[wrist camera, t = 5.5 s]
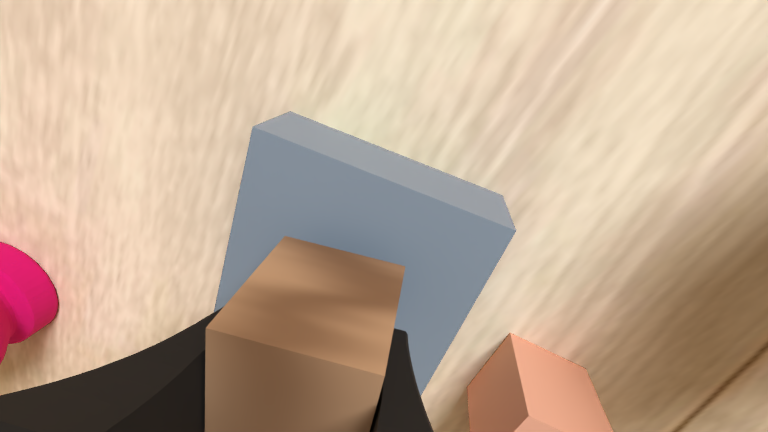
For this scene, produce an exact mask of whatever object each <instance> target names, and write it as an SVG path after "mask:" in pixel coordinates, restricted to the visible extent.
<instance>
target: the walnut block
mask: <svg viewBox="0 0 768 432" xmlns="http://www.w3.org/2000/svg"><path fill="white" fill-rule="evenodd" d="M404 271H405V266H402V265H398V264H394V263H390V262H387V261H383V260H379V259H375V258H371V257H367V256H363V255H359V254H355V253H351V252H347V251H343V250H339V249H335V248H331V247H327V246H323V245H319V244H315V243H311V242H307V241H303V240H300V239H296V238H292V237H288V236H284V237H283V239H282V240H281V241H280V242H279V243H278V244H277V246H276V247H275V248H274V249H273V250H272V251H271V253H270V254H269V255H268V256H267V257H266V258H265V260H264V261H263V262H262V263H261V264H260V265H259V266H258V268H257V269H256V270H255V271H254V272H253V273H252V275H251V276H250V277H249V278H248V279H247V280H246V282H245V283H244V284H243V285H242V286H241V287H240V289H239V290H238V291H237V292H236V293H235V294H234V296H233V297H232V298H231V299H230V300H229V301H228V303H227V304H226V305H225V306H224V307H223V308H222V309H221V311H220V312H219V313H218V314H217V315H216V316H215V318H214V319H213V320H212V321H211V322H210V323H209V325H208V326H207V327H206V344H205V432H370V428H371V425H372V421H373V417H374V414H375V410H376V406H377V403H378V399H379V396H380V392H381V388H382V385H383V381H384V377H385V373H386V367H387V362H388V357H389V351H390V346H391V341H392V335H393V330H394V325H395V319H396V314H397V309H398V303H399V298H400V293H401V287H402V282H403V277H404Z"/></svg>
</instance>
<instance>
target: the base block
mask: <svg viewBox="0 0 768 432" xmlns="http://www.w3.org/2000/svg"><path fill="white" fill-rule="evenodd" d="M515 232H516V229H515V226H514V224H513V221H512V219H511V216H510V213H509V211H508V208H507V206H506V203H505V201H504V198H503V196H502V195H500V194H497V193H495V192H492V191H490V190H487V189H485V188H482V187H480V186H477V185H475V184H472V183H470V182H467V181H465V180H462V179H460V178H457V177H455V176H452V175H450V174H447V173H444V172H442V171H439V170H437V169H434V168H432V167H429V166H427V165H424V164H422V163H419V162H417V161H414V160H412V159H409V158H407V157H404V156H402V155H399V154H397V153H394V152H391V151H389V150H386V149H384V148H381V147H379V146H376V145H374V144H371V143H369V142H366V141H364V140H361V139H359V138H356V137H354V136H351V135H349V134H346V133H344V132H341V131H338V130H336V129H333V128H331V127H328V126H326V125H323V124H321V123H318V122H316V121H313V120H311V119H308V118H306V117H303V116H301V115H298V114H296V113H293V112H291V111H290V112H288V113H285V114H283V115H280V116H278V117H275V118H273V119H270V120H268V121H265V122H263V123H260V124H258V125H255V126H253V128H252V133H251V137H250V142H249V147H248V152H247V156H246V161H245V166H244V171H243V175H242V180H241V185H240V190H239V195H238V199H237V204H236V209H235V214H234V218H233V223H232V228H231V233H230V238H229V242H228V247H227V252H226V257H225V261H224V266H223V271H222V276H221V280H220V285H219V290H218V295H217V300H216V304H215V309H214V312H216V311H217V310H219V309H221V308H222V307H224V306H225V305H226V304H227V303H228V301H229V300H230V299H231V298H232V297H233V296H234V294H235V293H236V292H237V291H238V290H239V289H240V287H241V286H242V285H243V284H244V283H245V282H246V280H247V279H248V278H249V277H250V276H251V275H252V273H253V272H254V271H255V270H256V269H257V268H258V266H259V265H260V264H261V263H262V262H263V261H264V260H265V258H266V257H267V256H268V255H269V254H270V253H271V251H272V250H273V249H274V248H275V247H276V246H277V244H278V243H279V242H280V241H281V240H282V239H283V237H284V236H288V237H292V238H296V239H300V240H303V241H307V242H311V243H315V244H319V245H323V246H327V247H331V248H335V249H339V250H343V251H347V252H351V253H355V254H359V255H363V256H367V257H371V258H375V259H379V260H383V261H387V262H390V263H394V264H398V265H402V266H405V271H404V277H403V282H402V287H401V293H400V298H399V303H398V309H397V314H396V319H395V325H394V328H396V329H400V330H403V331H406V332H407V334H408V344H409V351H410V357H411V362H412V367H413V371H414V375H415V379H416V383H417V386H418V390H419V393H420V396H421V394H422V393H423V391H424V389H425V388H426V386H427V384H428V382H429V381H430V379H431V377H432V375H433V374H434V372H435V370H436V369H437V367H438V365H439V363H440V362H441V360H442V358H443V356H444V355H445V353H446V351H447V350H448V348H449V346H450V344H451V343H452V341H453V339H454V337H455V336H456V334H457V332H458V330H459V329H460V327H461V325H462V324H463V322H464V320H465V318H466V317H467V315H468V313H469V311H470V310H471V308H472V306H473V305H474V303H475V301H476V299H477V298H478V296H479V294H480V292H481V291H482V289H483V287H484V286H485V284H486V282H487V280H488V279H489V277H490V275H491V273H492V272H493V270H494V268H495V266H496V265H497V263H498V261H499V260H500V258H501V256H502V254H503V253H504V251H505V249H506V247H507V246H508V244H509V242H510V241H511V239H512V237H513V235H514V234H515Z"/></svg>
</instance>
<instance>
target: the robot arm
mask: <svg viewBox="0 0 768 432" xmlns="http://www.w3.org/2000/svg"><path fill="white" fill-rule="evenodd" d="M222 308H223V307H222ZM222 308H221V309H222ZM221 309H219V310H217V311H216V312H214V313H212V314H211V315H209V316H207V317H206V318H204V319H202V320H201V321H199V322H197V323H196V324H194V325H192V326H190V327H189V328H187V329H185V330H183V331H181V332H179V333H177V334H176V335H174V336H172V337H170V338H168V339H166V340H164V341H162V342H160V343H158V344H156V345H154V346H152V347H149V348H147V349H145V350H143V351H140V352H138V353H136V354H133V355H131V356H128V357H126V358H123V359H121V360H118V361H115V362H113V363H110V364H107V365H105V366H102V367H100V368H97V369H94V370H91V371H88V372H85V373H82V374H79V375H76V376H72V377H69V378H66V379H62V380H59V381H56V382H52V383H49V384H45V385H41V386H37V387H33V388H29V389H25V390H21V391H17V392H13V393H9V394H5V395H1V396H0V432H205V344H206V327H207V326H208V325H209V323H210V322H211V321H212V320H213V319H214V318H215V316H216V315H217V314H218V313H219V312H220V311H221ZM370 432H433V429H432V427H431V424H430V422H429V419H428V417H427V414H426V411H425V408H424V405H423V402H422V399H421V396H420V393H419V390H418V386H417V383H416V379H415V375H414V371H413V367H412V362H411V357H410V351H409V344H408V334H407V332H406V331H403V330H400V329H396V328H394V330H393V335H392V341H391V346H390V351H389V357H388V362H387V367H386V373H385V377H384V381H383V385H382V388H381V392H380V396H379V399H378V403H377V406H376V410H375V414H374V417H373V421H372V425H371V428H370Z"/></svg>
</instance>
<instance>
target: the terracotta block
mask: <svg viewBox="0 0 768 432" xmlns="http://www.w3.org/2000/svg"><path fill="white" fill-rule="evenodd" d="M467 393H468V409H469V425H470V432H613V430H612V428H611V425H610V423H609V421H608V419H607V416H606V414H605V412H604V409H603V407H602V405H601V403H600V400H599V398H598V396H597V393H596V391H595V389H594V386H593V384H592V382H591V380H590V377H589V375H588V373H587V370H586V368H583V367H581V366H579V365H577V364H575V363H573V362H571V361H569V360H567V359H564V358H562V357H560V356H558V355H556V354H554V353H552V352H550V351H548V350H545V349H543V348H541V347H539V346H537V345H535V344H533V343H531V342H529V341H526V340H524V339H522V338H520V337H518V336H516V335H514V334H512V333H510V334H509V335H508V336H507V337H506V339H505V340H504V341H503V342H502V344H501V345H500V346H499V347H498V349H497V350H496V351H495V352H494V354H493V355H492V356H491V357H490V359H489V360H488V361H487V362H486V364H485V365H484V366H483V367H482V369H481V370H480V371H479V373H478V374H477V375H476V376H475V378H474V379H473V380H472V381H471V383H470V384H469V385H468V386H467Z"/></svg>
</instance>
